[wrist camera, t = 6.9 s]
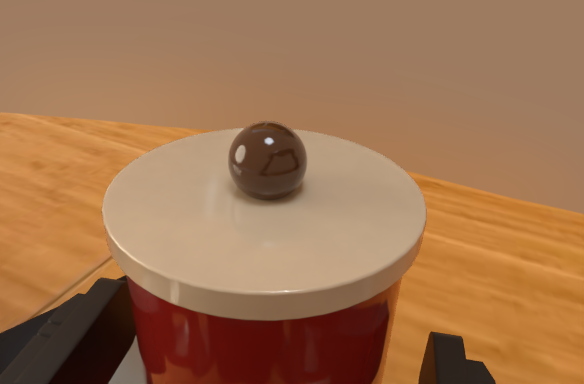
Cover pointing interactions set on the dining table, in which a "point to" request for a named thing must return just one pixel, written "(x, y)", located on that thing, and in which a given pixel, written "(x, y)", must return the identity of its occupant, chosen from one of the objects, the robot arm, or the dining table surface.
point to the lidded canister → (263, 256)
